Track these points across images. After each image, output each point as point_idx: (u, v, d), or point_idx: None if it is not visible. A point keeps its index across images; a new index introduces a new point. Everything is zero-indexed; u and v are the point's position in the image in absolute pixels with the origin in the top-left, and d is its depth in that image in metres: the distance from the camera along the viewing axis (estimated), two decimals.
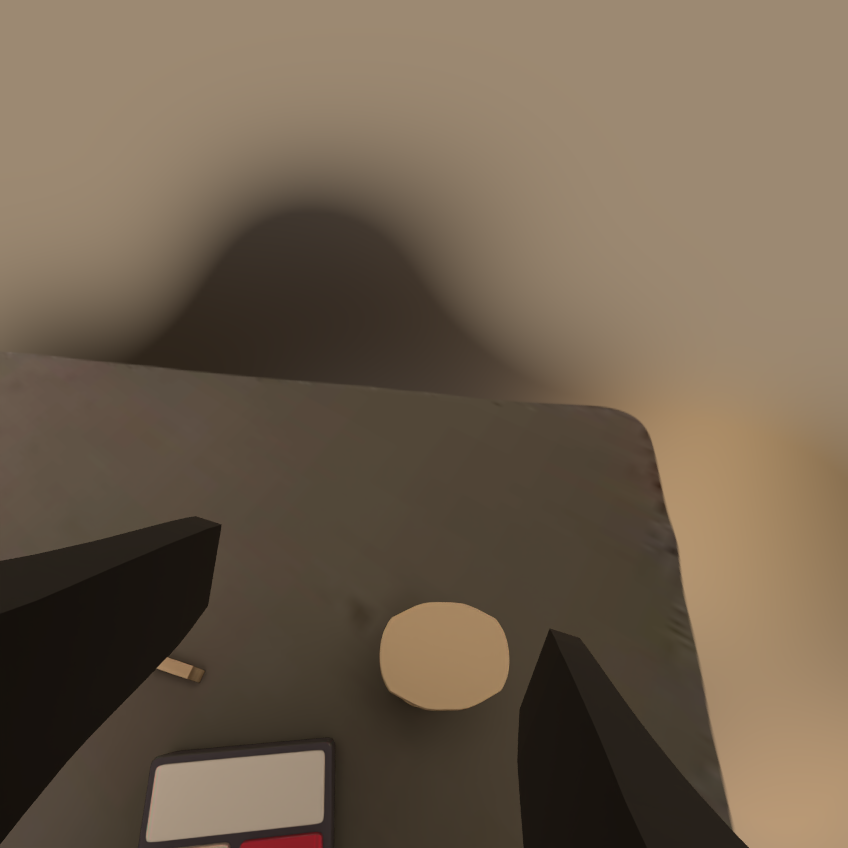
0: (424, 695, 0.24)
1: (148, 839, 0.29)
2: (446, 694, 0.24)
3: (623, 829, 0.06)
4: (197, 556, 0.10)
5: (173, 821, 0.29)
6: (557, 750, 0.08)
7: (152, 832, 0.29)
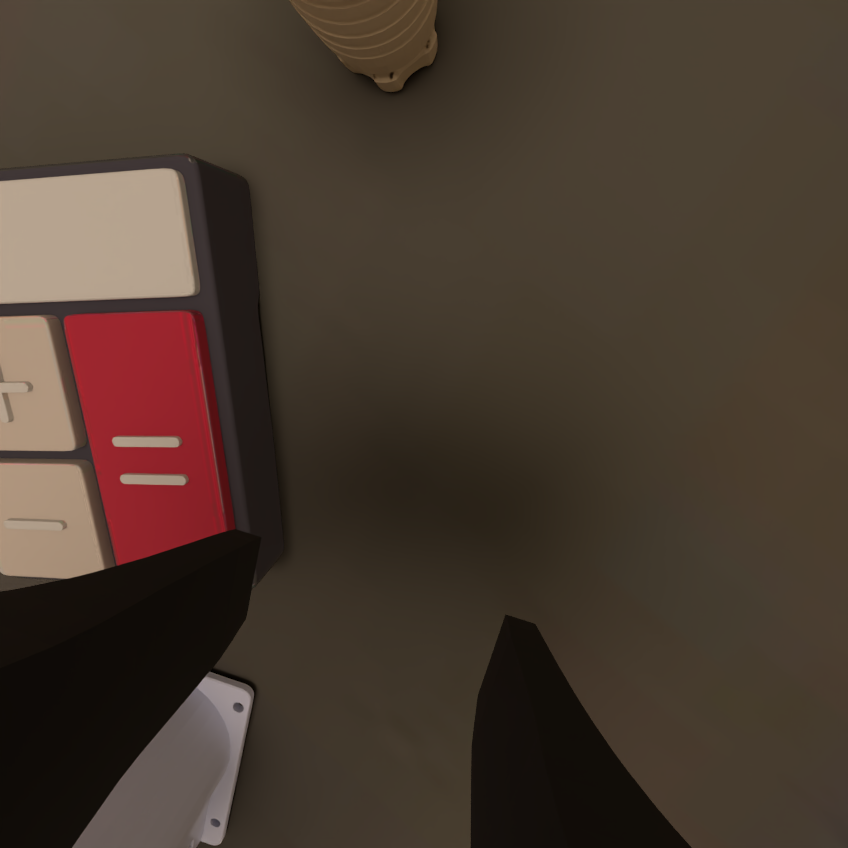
0: None
1: None
2: None
3: (544, 801, 0.06)
4: (240, 570, 0.10)
5: None
6: (502, 731, 0.08)
7: None
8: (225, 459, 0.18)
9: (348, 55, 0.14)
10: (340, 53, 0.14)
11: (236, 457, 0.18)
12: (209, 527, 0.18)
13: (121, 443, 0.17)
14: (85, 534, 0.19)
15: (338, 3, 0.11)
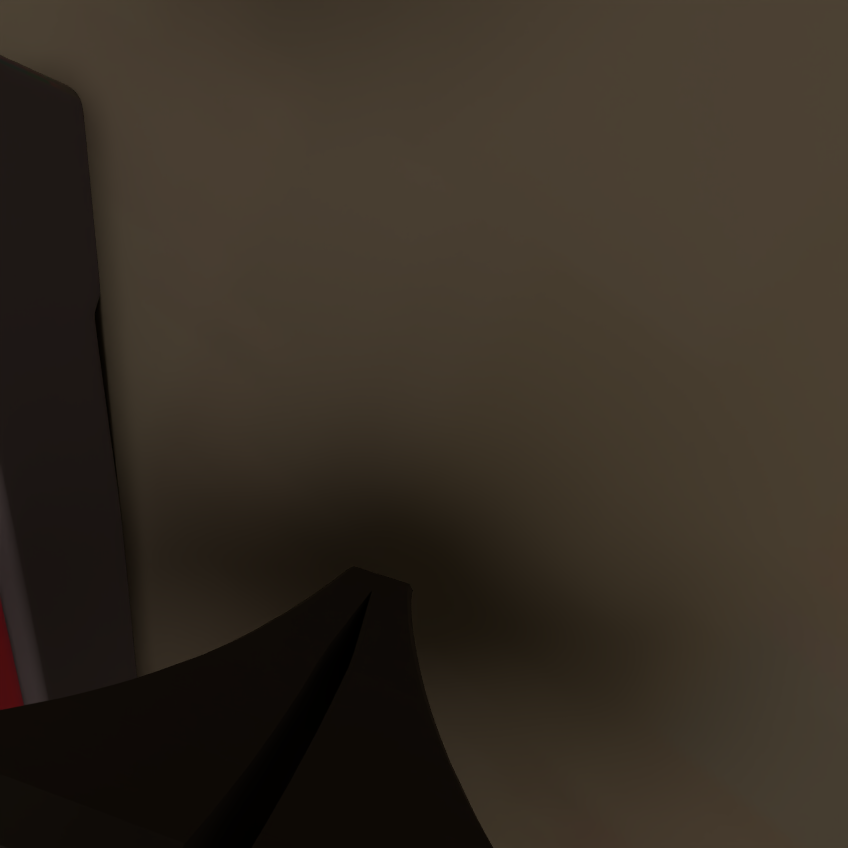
0: None
1: None
2: None
3: None
4: None
5: None
6: None
7: None
8: None
9: None
10: None
11: (15, 581, 0.10)
12: None
13: None
14: None
15: None
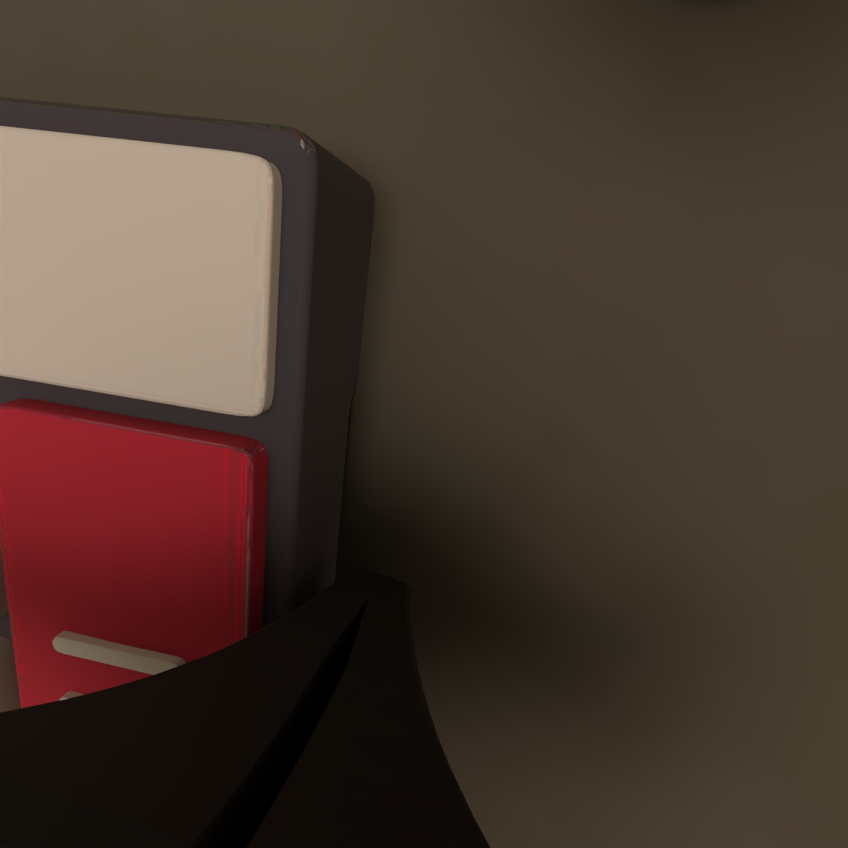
0: None
1: None
2: None
3: None
4: None
5: None
6: None
7: None
8: None
9: None
10: None
11: None
12: None
13: (69, 648, 0.09)
14: None
15: None
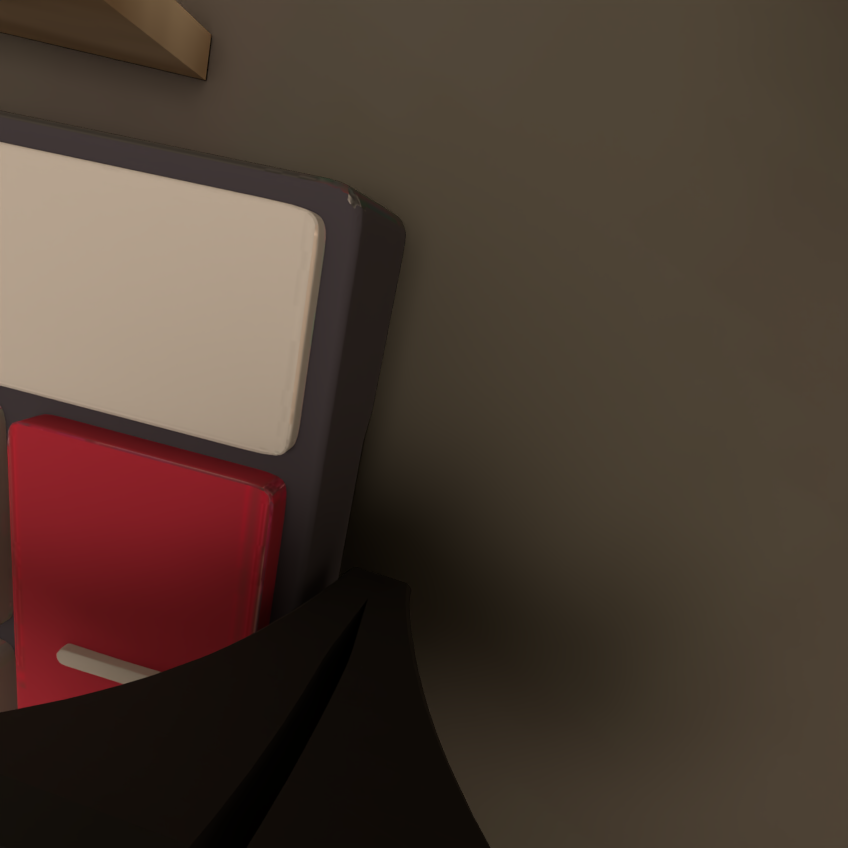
0: None
1: None
2: None
3: None
4: None
5: None
6: None
7: None
8: None
9: None
10: None
11: None
12: None
13: (73, 661, 0.09)
14: None
15: None
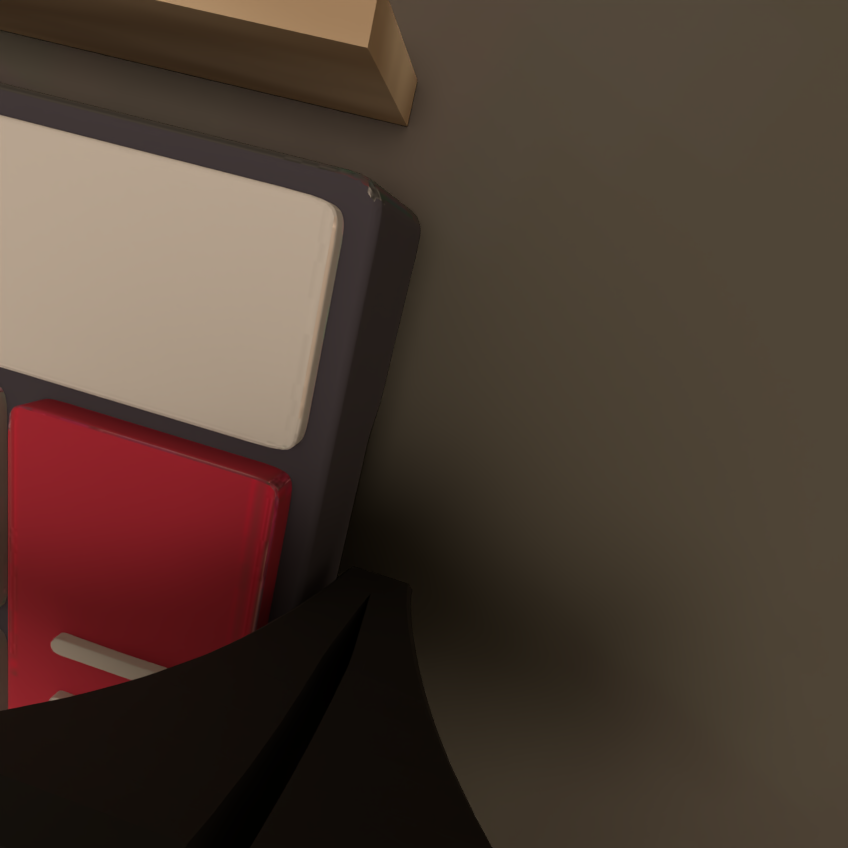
0: None
1: None
2: None
3: None
4: None
5: None
6: None
7: None
8: None
9: None
10: None
11: None
12: None
13: (67, 650, 0.09)
14: None
15: None
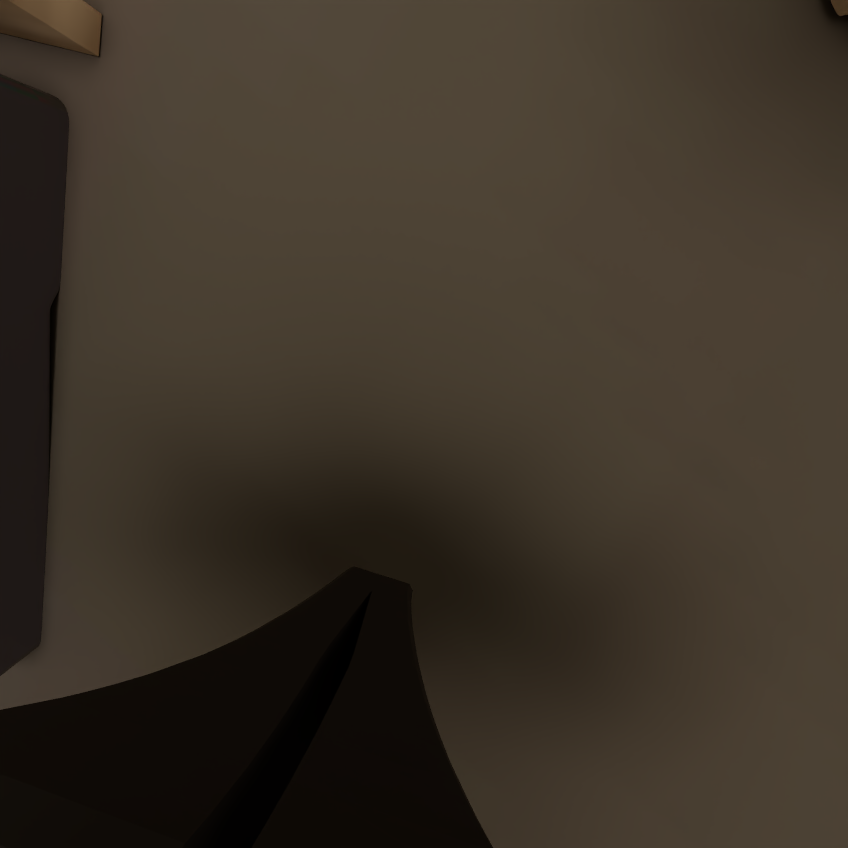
0: None
1: None
2: None
3: None
4: None
5: None
6: None
7: None
8: None
9: None
10: None
11: None
12: None
13: None
14: None
15: None
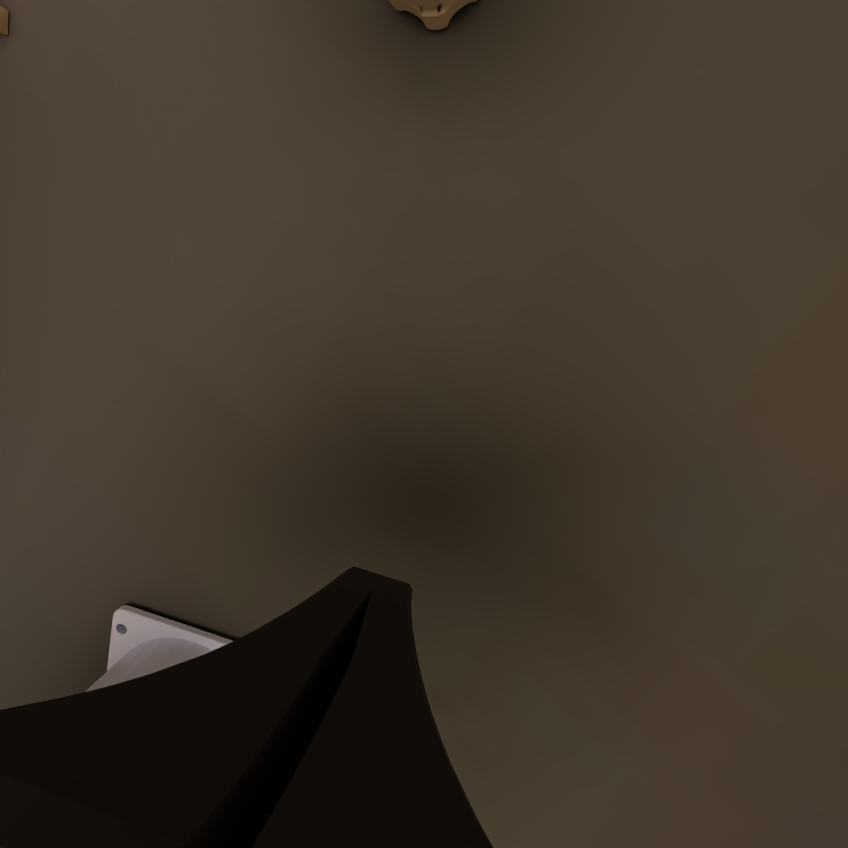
0: None
1: None
2: None
3: None
4: None
5: None
6: None
7: None
8: None
9: None
10: None
11: None
12: None
13: None
14: None
15: None
